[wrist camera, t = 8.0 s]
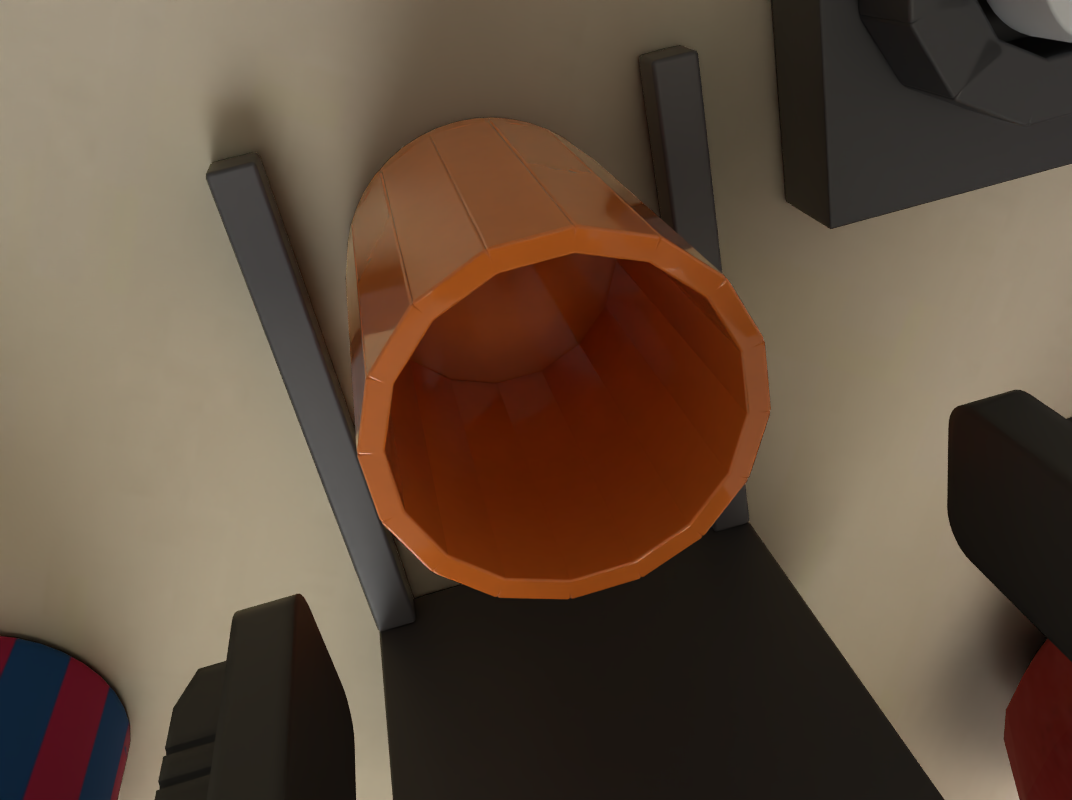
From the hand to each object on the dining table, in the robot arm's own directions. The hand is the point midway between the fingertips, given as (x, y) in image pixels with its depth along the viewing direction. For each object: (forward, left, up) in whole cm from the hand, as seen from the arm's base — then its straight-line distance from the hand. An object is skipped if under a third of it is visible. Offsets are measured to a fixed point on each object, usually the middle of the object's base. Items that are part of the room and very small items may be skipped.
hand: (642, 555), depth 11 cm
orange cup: (0, 0, -11) cm, 11 cm away
